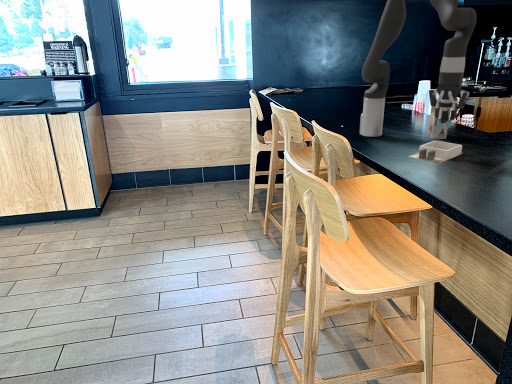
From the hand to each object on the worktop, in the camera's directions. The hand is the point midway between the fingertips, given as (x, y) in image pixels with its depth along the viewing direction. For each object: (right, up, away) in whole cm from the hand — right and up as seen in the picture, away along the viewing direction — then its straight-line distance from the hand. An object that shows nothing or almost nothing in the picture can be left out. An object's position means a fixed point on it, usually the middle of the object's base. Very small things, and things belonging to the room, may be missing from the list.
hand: (444, 119), depth 141 cm
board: (-2, -14, +3) cm, 14 cm away
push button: (0, -3, +1) cm, 3 cm away
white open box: (0, -12, +5) cm, 13 cm away
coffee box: (+13, -2, +34) cm, 37 cm away
